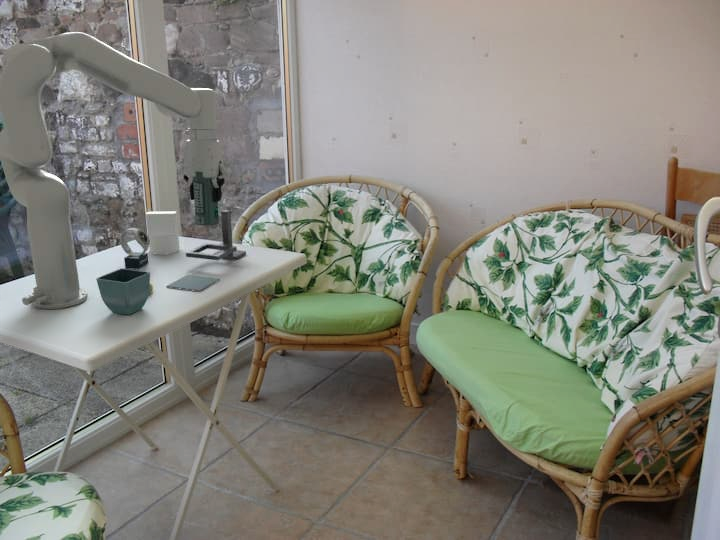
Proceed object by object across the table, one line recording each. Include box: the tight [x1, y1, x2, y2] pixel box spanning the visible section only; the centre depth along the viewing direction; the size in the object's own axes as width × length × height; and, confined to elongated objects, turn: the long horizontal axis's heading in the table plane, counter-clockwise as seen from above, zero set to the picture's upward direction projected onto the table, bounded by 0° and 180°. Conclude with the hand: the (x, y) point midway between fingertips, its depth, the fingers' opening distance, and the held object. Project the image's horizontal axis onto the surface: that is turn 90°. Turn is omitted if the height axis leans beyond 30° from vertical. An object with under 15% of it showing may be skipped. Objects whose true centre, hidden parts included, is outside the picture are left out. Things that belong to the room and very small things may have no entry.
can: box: [193, 171, 220, 227], centre depth 184 cm, size 6×6×15 cm
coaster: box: [166, 274, 221, 292], centre depth 175 cm, size 10×10×1 cm
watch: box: [119, 227, 150, 270], centre depth 188 cm, size 6×8×11 cm
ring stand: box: [185, 209, 247, 261], centre depth 192 cm, size 18×10×14 cm, turn 160°
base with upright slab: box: [145, 210, 180, 255], centre depth 203 cm, size 9×9×12 cm
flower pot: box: [95, 268, 151, 316], centre depth 156 cm, size 9×9×9 cm
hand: (206, 199), depth 185 cm, fingers closed on can, 6 cm apart
